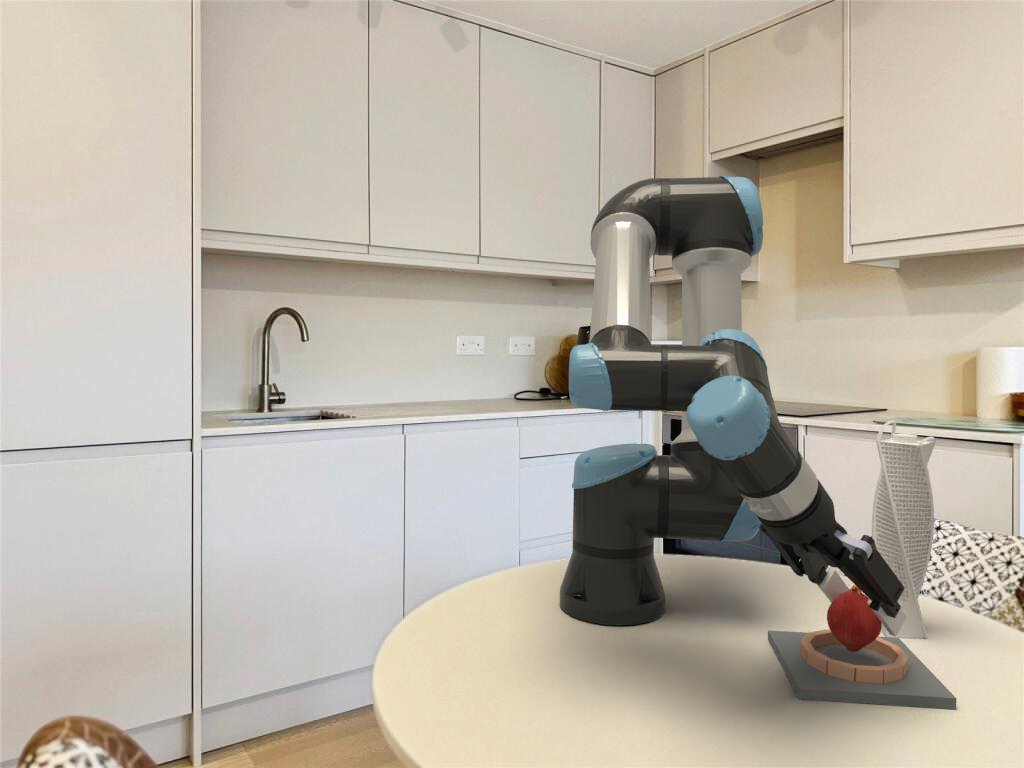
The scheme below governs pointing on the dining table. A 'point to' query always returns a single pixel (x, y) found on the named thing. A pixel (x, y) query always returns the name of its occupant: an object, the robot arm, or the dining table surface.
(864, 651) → the dock
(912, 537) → the skyscraper
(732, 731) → the dining table surface
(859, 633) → the red rounded fruit
